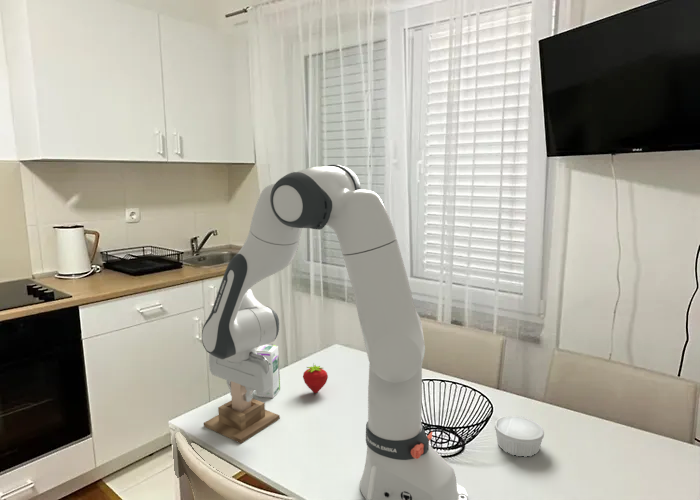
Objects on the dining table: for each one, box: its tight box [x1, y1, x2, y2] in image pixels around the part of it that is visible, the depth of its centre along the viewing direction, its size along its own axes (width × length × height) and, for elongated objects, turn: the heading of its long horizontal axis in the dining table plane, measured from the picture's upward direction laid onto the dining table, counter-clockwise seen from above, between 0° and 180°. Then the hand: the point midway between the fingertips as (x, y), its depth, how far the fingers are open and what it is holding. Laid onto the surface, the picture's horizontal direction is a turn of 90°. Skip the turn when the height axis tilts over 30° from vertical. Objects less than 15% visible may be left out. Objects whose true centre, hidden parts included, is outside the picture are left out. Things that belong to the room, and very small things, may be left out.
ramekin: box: [494, 415, 545, 458], centre depth 115 cm, size 11×11×5 cm
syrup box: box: [255, 343, 281, 399], centre depth 141 cm, size 6×6×14 cm
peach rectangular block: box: [230, 381, 251, 412], centre depth 124 cm, size 4×4×12 cm
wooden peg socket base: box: [203, 397, 281, 444], centre depth 126 cm, size 14×14×5 cm
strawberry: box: [302, 363, 329, 394], centre depth 141 cm, size 6×8×10 cm
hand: (241, 397), depth 125 cm, fingers closed on peach rectangular block, 3 cm apart
